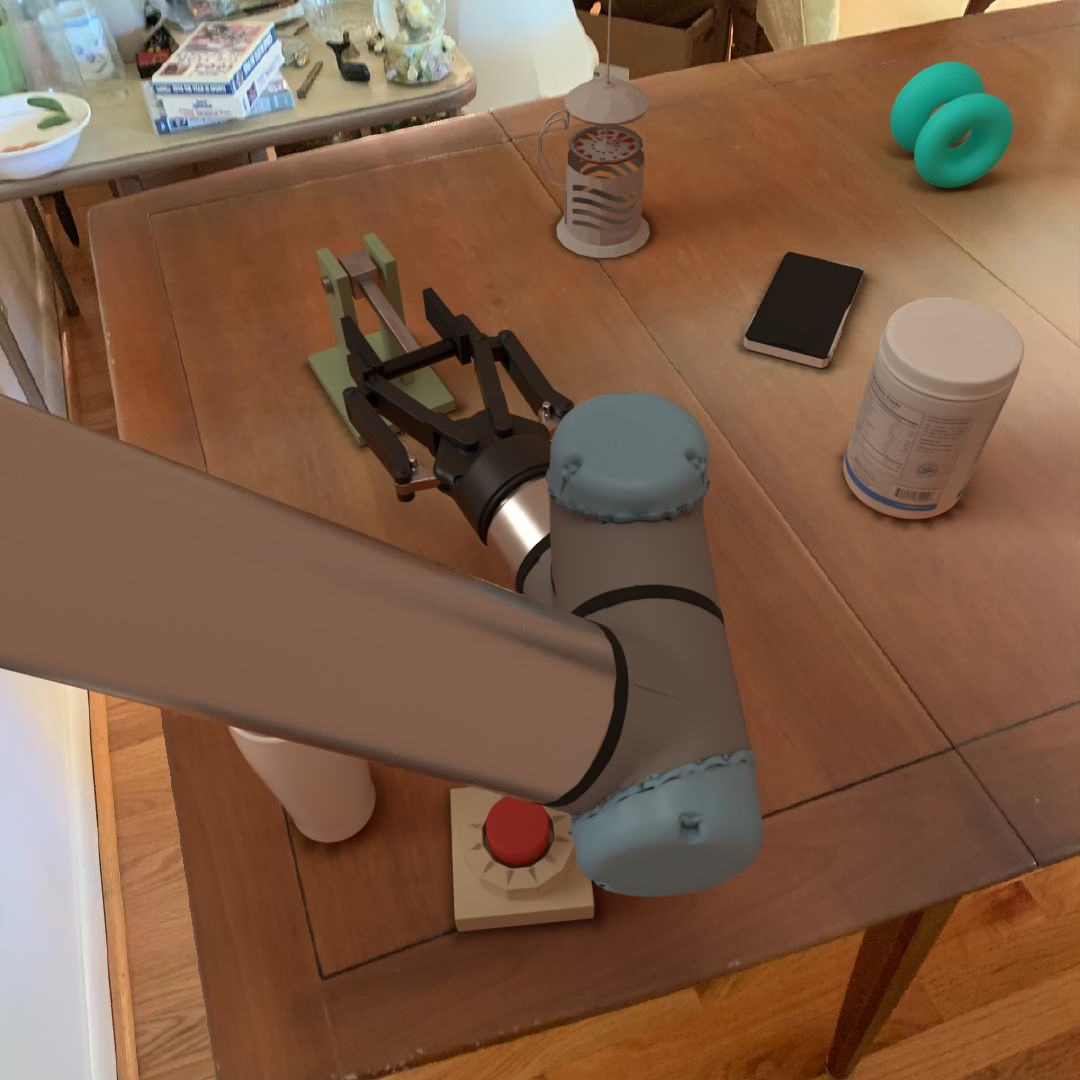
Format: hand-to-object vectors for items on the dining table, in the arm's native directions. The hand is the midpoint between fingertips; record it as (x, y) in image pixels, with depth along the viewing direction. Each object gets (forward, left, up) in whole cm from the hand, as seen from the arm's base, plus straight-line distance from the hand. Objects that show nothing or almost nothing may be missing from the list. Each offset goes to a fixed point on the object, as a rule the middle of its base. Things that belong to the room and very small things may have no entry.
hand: (388, 317), depth 75 cm
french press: (+20, +27, -12) cm, 36 cm away
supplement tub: (+40, -11, -12) cm, 43 cm away
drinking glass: (-5, -34, -12) cm, 36 cm away
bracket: (-2, +5, -12) cm, 13 cm away
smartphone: (+38, +11, -12) cm, 41 cm away
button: (+7, -39, -8) cm, 40 cm away
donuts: (+59, +34, -12) cm, 69 cm away
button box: (+7, -39, -12) cm, 41 cm away
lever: (0, +1, -1) cm, 1 cm away
